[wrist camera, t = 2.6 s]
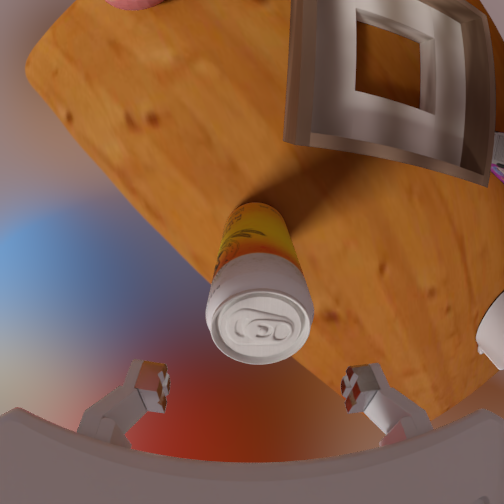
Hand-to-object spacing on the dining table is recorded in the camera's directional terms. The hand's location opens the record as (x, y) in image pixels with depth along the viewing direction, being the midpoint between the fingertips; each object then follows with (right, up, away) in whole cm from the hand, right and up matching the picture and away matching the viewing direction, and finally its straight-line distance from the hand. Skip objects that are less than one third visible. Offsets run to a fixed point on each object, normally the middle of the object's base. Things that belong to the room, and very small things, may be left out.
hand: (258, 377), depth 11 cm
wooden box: (+13, +24, +9) cm, 29 cm away
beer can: (0, +8, +17) cm, 18 cm away
